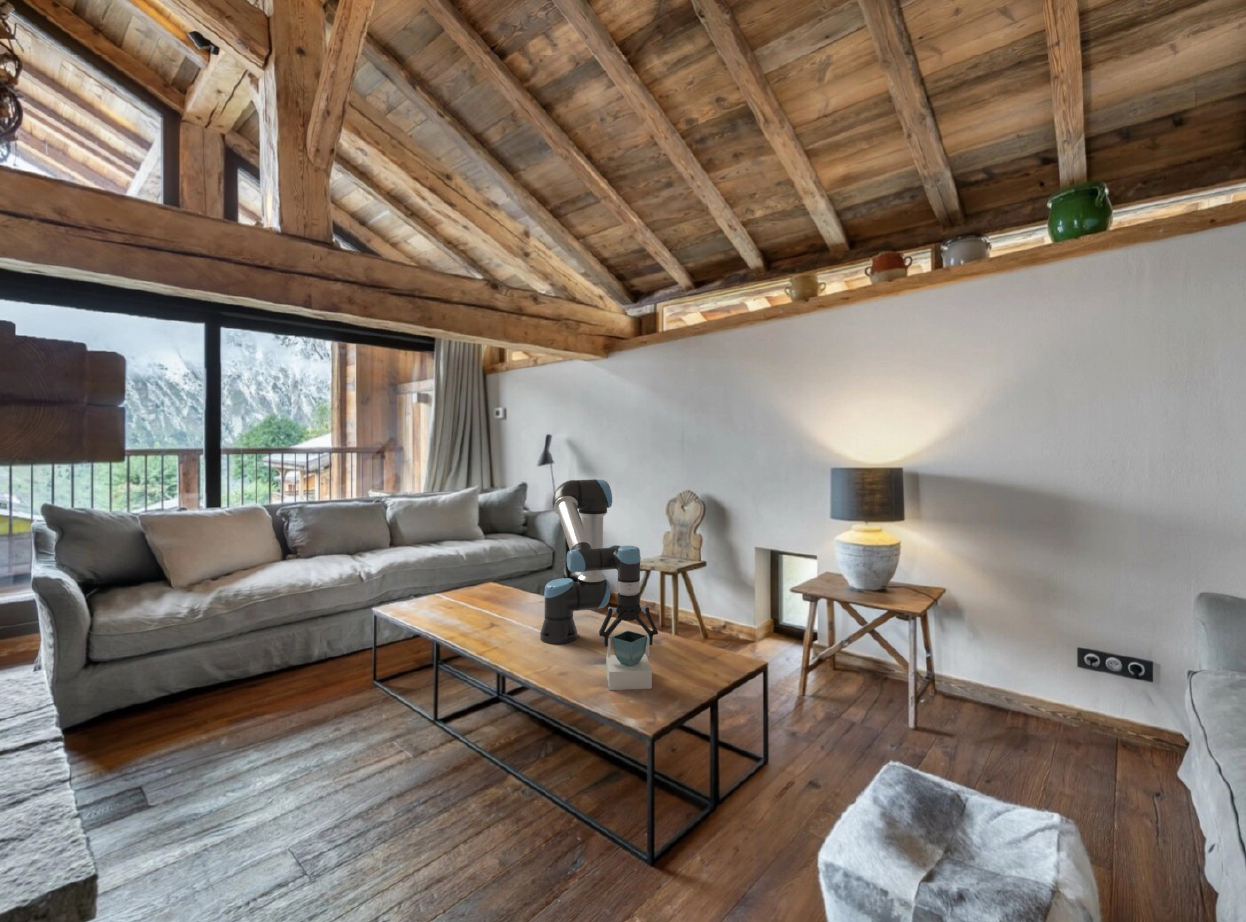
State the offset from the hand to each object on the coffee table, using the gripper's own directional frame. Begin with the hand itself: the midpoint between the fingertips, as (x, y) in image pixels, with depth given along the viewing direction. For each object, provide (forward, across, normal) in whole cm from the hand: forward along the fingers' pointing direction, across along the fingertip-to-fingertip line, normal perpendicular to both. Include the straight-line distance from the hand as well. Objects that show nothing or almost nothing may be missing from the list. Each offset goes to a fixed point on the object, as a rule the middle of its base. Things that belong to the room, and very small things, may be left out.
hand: (628, 655), depth 187 cm
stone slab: (+9, 0, 0) cm, 9 cm away
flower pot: (+3, 0, 0) cm, 3 cm away
